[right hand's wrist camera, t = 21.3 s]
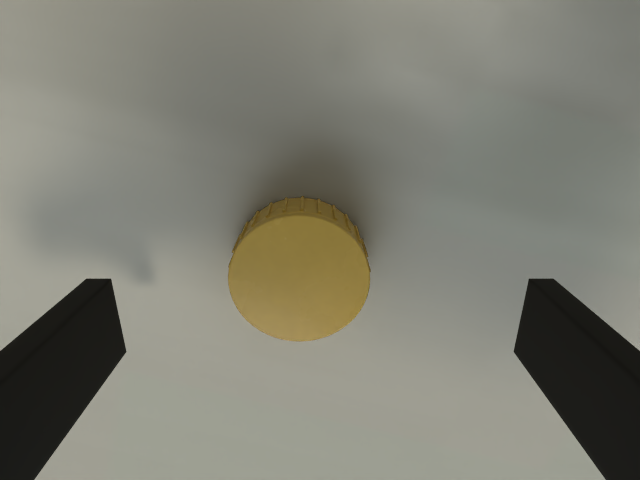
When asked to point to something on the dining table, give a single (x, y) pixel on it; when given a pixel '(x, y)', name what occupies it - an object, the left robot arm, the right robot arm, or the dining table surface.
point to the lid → (299, 270)
